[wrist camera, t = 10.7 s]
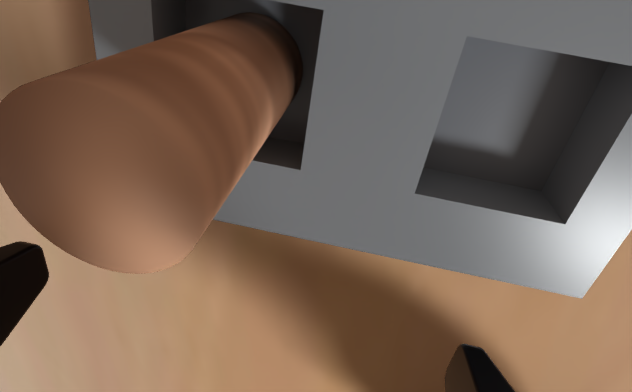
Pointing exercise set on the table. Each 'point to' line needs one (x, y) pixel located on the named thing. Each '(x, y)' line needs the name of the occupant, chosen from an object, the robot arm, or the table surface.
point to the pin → (146, 140)
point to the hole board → (437, 129)
